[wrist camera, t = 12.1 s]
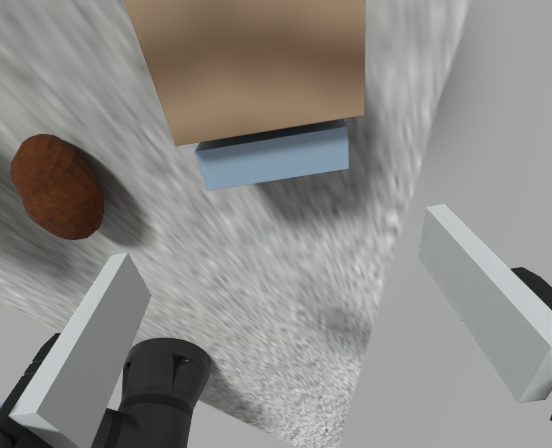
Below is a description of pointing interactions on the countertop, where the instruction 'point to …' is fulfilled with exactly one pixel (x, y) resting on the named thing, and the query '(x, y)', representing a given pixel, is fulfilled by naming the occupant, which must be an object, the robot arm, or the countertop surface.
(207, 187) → the block
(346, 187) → the countertop surface
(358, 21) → the cabinet
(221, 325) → the countertop surface
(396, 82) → the countertop surface
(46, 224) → the potato
